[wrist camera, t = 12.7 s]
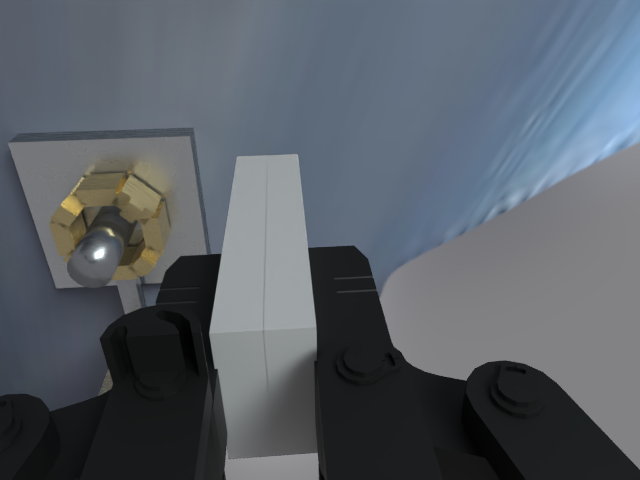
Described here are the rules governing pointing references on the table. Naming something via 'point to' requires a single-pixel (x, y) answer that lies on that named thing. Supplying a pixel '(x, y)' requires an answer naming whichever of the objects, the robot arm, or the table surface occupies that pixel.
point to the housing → (104, 221)
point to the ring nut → (134, 206)
